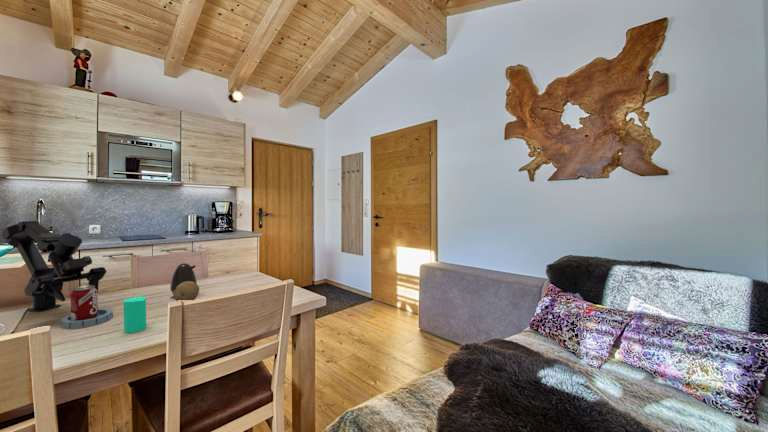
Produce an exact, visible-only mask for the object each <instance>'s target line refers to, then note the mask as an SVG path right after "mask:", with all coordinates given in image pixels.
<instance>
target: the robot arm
mask: <svg viewBox="0 0 768 432" xmlns="http://www.w3.org/2000/svg"><path fill="white" fill-rule="evenodd" d="M1 237H2V239H3V240H5V242H6V243H7V244H8V245H9V246H12V247H14V248H16V249H17V250H18V252H19V254H20V256H21V257H22V259H23V261H24V263H25V265H26V267H27V269H28V271H29V272H30V275H31V276H30V278H29V279H28V282H27V285H26V287H25V288H24V294H25V296H27V297H32V307H29V308H27V311H33V312H43V311H48V310H51V309H54V308H58V307H61V304H57V301H56V300H59V301H60V302H65V301H66V298H65V295H64V294H63V292H62V290H63V286H64V283H69V282H73V281H80V280H85V279H86V280H87V281H88V283H87V285H94V286H95V289H97V294H99V281H100V280H102V279H103V278H104V277H105V275H106V273H107V269H106V268H105V267H103V266H100V267H98V266H97V267H93V268H90V270H89V271H88V272H85V273H82V272H84V271H85V268H86V267H88V266H89V265H92V264H93V259H92V257H91V256H90V255H87V256H85V255H84V256H82V257H81V258H74V257H73V255H75V254H76V253H77V251H78V250H79V248H80V247H81V245H82V244H83V241H82V238H80V237H79V236H76V235H74V234H71V232H68V233H67V232H66V233H64V232H63V233H62V234H59V233H53V232H51V231H50V230H48V229H47V228H46V227H44V226H43V225H41V224H40V222H39V221H37V220H25V221H24V220H22V221H18V223H16V224H14V225H13V224H12V225H10V226H7V227H6V228H4V229H3V230H2V233H1ZM35 241H36V242H37V243H35ZM41 253H49V254H48V255H47V257H48V258H47V263H50V264H51V265H52V267H49V266H48V264H47V263H46V261H45V259H44V258H43V255H42V254H41Z"/></svg>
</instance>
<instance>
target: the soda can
mask: <svg viewBox="0 0 768 432" xmlns="http://www.w3.org/2000/svg"><path fill="white" fill-rule="evenodd" d="M69 296H70V314H71V321H79V320H87V319H92V318H96V317H97V316H98V309H99V307H98V305H99V304H98V303H99V301H98V300H99V299H98V293H97V289H95V286H94V285H89V284H87V285H80V286H75V287H73V289H72V291H71V293H70V295H69Z"/></svg>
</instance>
